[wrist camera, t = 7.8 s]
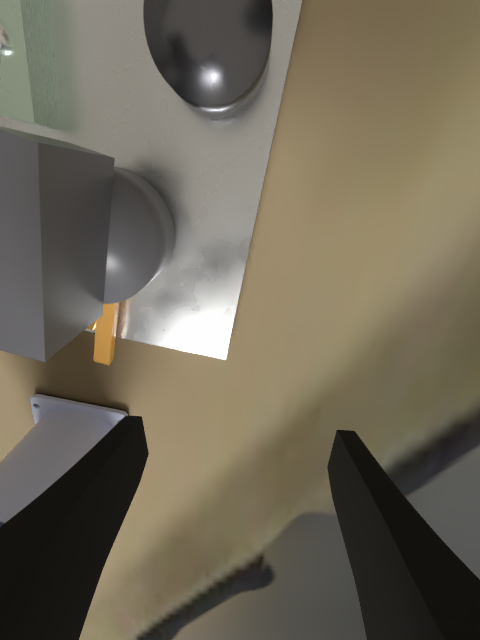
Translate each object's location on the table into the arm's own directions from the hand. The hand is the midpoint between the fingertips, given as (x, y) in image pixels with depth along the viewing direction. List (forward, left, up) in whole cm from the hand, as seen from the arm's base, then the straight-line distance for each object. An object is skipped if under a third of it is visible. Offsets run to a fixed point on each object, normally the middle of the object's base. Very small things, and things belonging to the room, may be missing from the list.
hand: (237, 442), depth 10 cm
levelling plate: (+7, +11, -9) cm, 16 cm away
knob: (+3, +8, -8) cm, 11 cm away
